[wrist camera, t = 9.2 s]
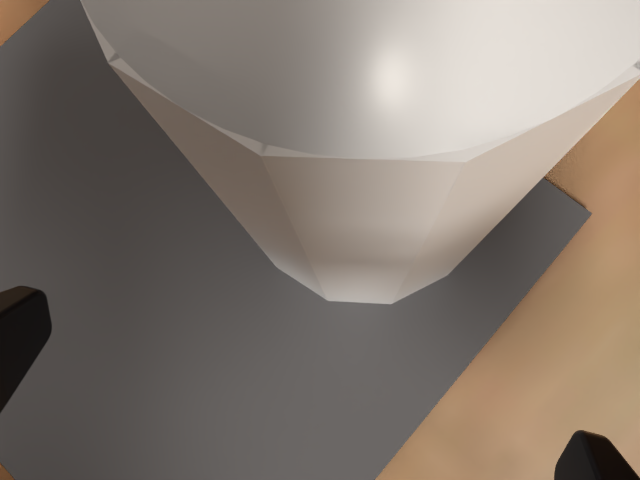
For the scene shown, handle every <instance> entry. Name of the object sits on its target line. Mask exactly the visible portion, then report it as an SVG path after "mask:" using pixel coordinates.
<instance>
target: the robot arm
mask: <svg viewBox="0 0 640 480" xmlns="http://www.w3.org/2000/svg"><path fill="white" fill-rule="evenodd" d="M51 332H52V322H51V316H50V311H49V305H48V300H47V296H46V294H45V293H44V291H42V290H39V289H35V288H31V287H28V286H17V287H13V288H11V289H8V290H5V291H2V292H0V413H1V412H2V410H3V409H4V407H5V406H6V405H7V403H8V402H9V400H10V399H11V397H12V396H13V394H14V392H15V391H16V389H17V388H18V386H19V385H20V383H21V382H22V380H23V378H24V377H25V375H26V374H27V372H28V371H29V369H30V368H31V366H32V365H33V363H34V361H35V360H36V358H37V357H38V355H39V354H40V352H41V351H42V349H43V348H44V346H45V344H46V343H47V341H48V340H49V338H50V335H51ZM554 480H640V478H639V476H638V475H637V474H636V473H635V471H634V470H633V469H632V468H631V466H630V465H629V464H628V463H627V461H626V460H625V459H624V458H623V456H622V455H621V454H620V453H619V451H618V450H617V449H616V448H615V446H614V445H613V444H612V443H611V441H610V440H609V439H607V438H606V437H605V436H602V435H599V434H595V433H591V432H587V431H583V430H578V431H576V432H575V433H574V434H573V436H572V437H571V439H570V441H569V442H568V444H567V446H566V448H565V449H564V451H563V453H562V454H561V456H560V458H559V460H558V462H557V464H556V468H555V474H554Z"/></svg>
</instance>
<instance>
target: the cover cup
mask: <svg viewBox="0 0 640 480" xmlns="http://www.w3.org/2000/svg"><path fill="white" fill-rule="evenodd" d="M80 1H81V3H82V6H83V8H84V10H85V12H86V15H87V17H88V19H89V21H90V23H91V26H92V28H93V30H94V32H95V35H96V37H97V39H98V41H99V44H100V46H101V48H102V50H103V53H104V55H105V57H106V59H107V61H108V64H109V65H110V66H111V67H112V69H113V70H114V71H115V72H116V73H117V75H118V76H119V77H120V78H121V79H122V81H123V82H124V83H125V84H126V86H127V87H128V88H129V89H130V90H131V92H132V93H133V94H134V95H135V96H136V98H137V99H138V100H139V101H140V102H141V104H142V105H143V106H144V107H145V109H146V110H147V111H148V112H149V113H150V115H151V116H152V117H153V118H154V119H155V121H156V122H157V123H158V124H159V125H160V127H161V128H162V129H163V130H164V132H165V133H166V134H167V135H168V136H169V138H170V139H171V140H172V141H173V142H174V144H175V145H176V146H177V147H178V149H179V150H180V151H181V152H182V153H183V155H184V156H185V157H186V158H187V159H188V161H189V162H190V163H191V164H192V165H193V167H194V168H195V169H196V170H197V172H198V173H199V174H200V175H201V176H202V178H203V179H204V180H205V181H206V182H207V184H208V185H209V186H210V187H211V189H212V190H213V191H214V192H215V193H216V195H217V196H218V197H219V198H220V199H221V201H222V202H223V203H224V204H225V205H226V207H227V208H228V209H229V210H230V212H231V213H232V214H233V215H234V216H235V218H236V219H237V220H238V221H239V222H240V224H241V225H242V226H243V227H244V228H245V230H246V231H247V232H248V233H249V235H250V236H251V237H252V238H253V239H254V241H255V242H256V243H257V244H258V245H259V247H260V248H261V249H262V250H263V252H264V253H265V254H266V255H267V256H268V258H269V259H270V260H271V261H272V262H273V264H274V265H275V266H276V267H277V268H278V269H280V270H281V271H283V272H284V273H286V274H287V275H289V276H291V277H292V278H294V279H295V280H297V281H298V282H300V283H301V284H303V285H304V286H306V287H307V288H309V289H310V290H312V291H314V292H315V293H317V294H318V295H320V296H321V297H323V298H324V299H326V300H327V301H339V302H357V303H376V304H393V303H395V302H396V301H398V300H400V299H402V298H404V297H406V296H408V295H410V294H412V293H414V292H416V291H418V290H420V289H422V288H424V287H426V286H428V285H430V284H432V283H434V282H436V281H438V280H440V279H441V278H443V277H445V276H447V275H448V274H449V273H450V272H451V271H452V270H453V269H454V268H455V267H456V266H457V265H458V264H459V263H460V262H461V261H462V260H463V259H464V258H465V257H466V256H467V255H468V254H469V253H470V252H471V251H472V250H473V249H474V248H475V247H476V246H477V245H478V243H479V242H480V241H481V240H482V239H483V238H484V237H485V236H486V235H487V234H488V233H489V232H490V231H491V230H492V229H493V228H494V227H495V226H496V225H497V224H498V223H499V222H500V221H501V220H502V219H503V218H504V217H505V216H506V215H507V214H508V213H509V212H510V211H511V210H512V209H513V208H514V207H515V206H516V205H517V204H518V203H519V202H520V200H521V199H522V198H523V197H524V196H525V195H526V194H527V193H528V192H529V191H530V190H531V189H532V188H533V187H534V186H535V185H536V184H537V183H538V182H539V181H540V180H541V179H542V178H543V177H544V176H545V175H546V174H547V173H548V172H549V171H550V170H551V169H552V168H553V167H554V166H555V165H556V164H557V163H558V162H559V161H560V160H561V159H562V157H563V156H564V155H565V154H566V153H567V152H568V151H569V150H570V149H571V148H572V147H573V146H574V145H575V144H576V143H577V142H578V141H579V140H580V139H581V138H582V137H583V136H584V135H585V134H586V133H587V132H588V131H589V130H590V129H591V128H592V127H593V126H594V125H595V124H596V123H597V122H598V121H599V120H600V119H601V118H602V117H603V116H604V114H605V113H606V112H607V111H608V110H609V109H610V108H611V107H612V106H613V105H614V104H615V103H616V102H617V101H618V100H619V99H620V98H621V97H622V96H623V95H624V94H625V93H626V92H627V91H628V90H629V89H630V88H631V87H632V86H633V85H634V84H635V83H636V82H637V81H638V80H639V79H640V0H80Z"/></svg>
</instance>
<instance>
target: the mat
mask: <svg viewBox="0 0 640 480" xmlns="http://www.w3.org/2000/svg"><path fill="white" fill-rule="evenodd" d="M591 214H592V213H591V212H589V211H588V210H587V209H585V208H584V207H582V206H581V205H580V204H578V203H577V202H576V201H574V200H573V199H572V198H570V197H569V196H567V195H566V194H565V193H563V192H562V191H561V190H559V189H558V188H557V187H555V186H554V185H553V184H551V183H550V182H548V181H547V180H546V179H544V178H542V179H541V180H540V181H539V182H538V183H537V184H536V185H535V186H534V187H533V188H532V189H531V190H530V191H529V192H528V193H527V194H526V195H525V196H524V197H523V198H522V199H521V200H520V202H519V203H518V204H517V205H516V206H515V207H514V208H513V209H512V210H511V211H510V212H509V213H508V214H507V215H506V216H505V217H504V218H503V219H502V220H501V221H500V222H499V223H498V224H497V225H496V226H495V227H494V228H493V229H492V230H491V231H490V232H489V233H488V234H487V235H486V236H485V237H484V238H483V239H482V240H481V241H480V242H479V243H478V245H477V246H476V247H475V248H474V249H473V250H472V251H471V252H470V253H469V254H468V255H467V256H466V257H465V258H464V259H463V260H462V261H461V262H460V263H459V264H458V265H457V266H456V267H455V268H454V269H453V270H452V271H451V272H450V273H449V274H448V275H447V276H445V277H443V278H441V279H440V280H438V281H436V282H434V283H432V284H430V285H428V286H426V287H424V288H422V289H420V290H418V291H416V292H414V293H412V294H410V295H408V296H406V297H404V298H402V299H400V300H398V301H396V302H395V303H393V304H376V303H357V302H339V301H327V300H326V299H324V298H323V297H321V296H320V295H318V294H317V293H315V292H314V291H312V290H310V289H309V288H307V287H306V286H304V285H303V284H301V283H300V282H298V281H297V280H295V279H294V278H292V277H291V276H289V275H287V274H286V273H284V272H283V271H281V270H280V269H278V268H277V267H276V266H275V265H274V264H273V262H272V261H271V260H270V259H269V258H268V256H267V255H266V254H265V253H264V252H263V250H262V249H261V248H260V247H259V245H258V244H257V243H256V242H255V241H254V239H253V238H252V237H251V236H250V235H249V233H248V232H247V231H246V230H245V228H244V227H243V226H242V225H241V224H240V222H239V221H238V220H237V219H236V218H235V216H234V215H233V214H232V213H231V212H230V210H229V209H228V208H227V207H226V205H225V204H224V203H223V202H222V201H221V199H220V198H219V197H218V196H217V195H216V193H215V192H214V191H213V190H212V189H211V187H210V186H209V185H208V184H207V182H206V181H205V180H204V179H203V178H202V176H201V175H200V174H199V173H198V172H197V170H196V169H195V168H194V167H193V165H192V164H191V163H190V162H189V161H188V159H187V158H186V157H185V156H184V155H183V153H182V152H181V151H180V150H179V149H178V147H177V146H176V145H175V144H174V142H173V141H172V140H171V139H170V138H169V136H168V135H167V134H166V133H165V132H164V130H163V129H162V128H161V127H160V125H159V124H158V123H157V122H156V121H155V119H154V118H153V117H152V116H151V115H150V113H149V112H148V111H147V110H146V109H145V107H144V106H143V105H142V104H141V102H140V101H139V100H138V99H137V98H136V96H135V95H134V94H133V93H132V92H131V90H130V89H129V88H128V87H127V86H126V84H125V83H124V82H123V81H122V79H121V78H120V77H119V76H118V75H117V73H116V72H115V71H114V70H113V69H112V67H111V66H110V65H109V64H108V61H107V59H106V57H105V55H104V53H103V50H102V48H101V46H100V44H99V41H98V39H97V37H96V35H95V32H94V30H93V28H92V26H91V23H90V21H89V19H88V17H87V15H86V12H85V10H84V8H83V6H82V3H81V1H80V0H50V1H49V2H48V3H46V4H45V5H44V6H43V7H42V8H41V9H40V10H39V11H38V12H37V13H36V14H35V15H34V16H33V17H32V18H30V19H29V20H28V21H27V22H26V23H25V24H24V25H23V26H22V27H21V28H20V29H19V30H18V31H17V32H16V33H14V34H13V35H12V36H11V37H10V38H9V39H8V40H7V41H6V42H5V43H4V44H3V45H2V46H1V47H0V292H2V291H5V290H8V289H11V288H13V287H17V286H28V287H31V288H35V289H39V290H42V291H44V293H45V294H46V296H47V300H48V305H49V311H50V316H51V322H52V332H51V335H50V338H49V340H48V341H47V343H46V344H45V346H44V348H43V349H42V351H41V352H40V354H39V355H38V357H37V358H36V360H35V361H34V363H33V365H32V366H31V368H30V369H29V371H28V372H27V374H26V375H25V377H24V378H23V380H22V382H21V383H20V385H19V386H18V388H17V389H16V391H15V392H14V394H13V396H12V397H11V399H10V400H9V402H8V403H7V405H6V406H5V407H4V409H3V410H2V412H1V413H0V463H1V464H2V465H3V466H4V467H5V469H6V470H7V471H8V472H9V473H10V474H11V476H12V477H13V478H14V479H15V480H375V479H376V478H377V476H378V475H379V474H380V473H381V471H382V470H383V469H384V468H385V467H386V465H387V464H388V463H389V462H390V460H391V459H392V458H393V457H394V456H395V454H396V453H397V452H398V451H399V449H400V448H401V447H402V446H403V445H404V443H405V442H406V441H407V440H408V438H409V437H410V436H411V435H412V434H413V432H414V431H415V430H416V429H417V427H418V426H419V425H420V424H421V422H422V421H423V420H424V419H425V418H426V416H427V415H428V414H429V413H430V411H431V410H432V409H433V408H434V407H435V405H436V404H437V403H438V402H439V400H440V399H441V398H442V397H443V396H444V394H445V393H446V392H447V391H448V389H449V388H450V387H451V386H452V385H453V383H454V382H455V381H456V380H457V378H458V377H459V376H460V375H461V374H462V372H463V371H464V370H465V369H466V367H467V366H468V365H469V364H470V363H471V361H472V360H473V359H474V358H475V356H476V355H477V354H478V353H479V351H480V350H481V349H482V348H483V347H484V345H485V344H486V343H487V342H488V340H489V339H490V338H491V337H492V336H493V334H494V333H495V332H496V331H497V329H498V328H499V327H500V326H501V325H502V323H503V322H504V321H505V320H506V318H507V317H508V316H509V315H510V314H511V312H512V311H513V310H514V309H515V307H516V306H517V305H518V304H519V303H520V301H521V300H522V299H523V298H524V296H525V295H526V294H527V293H528V291H529V290H530V289H531V288H532V287H533V285H534V284H535V283H536V282H537V280H538V279H539V278H540V277H541V276H542V274H543V273H544V272H545V271H546V269H547V268H548V267H549V266H550V265H551V263H552V262H553V261H554V260H555V258H556V257H557V256H558V255H559V254H560V252H561V251H562V250H563V249H564V247H565V246H566V245H567V244H568V243H569V241H570V240H571V239H572V238H573V236H574V235H575V234H576V233H577V231H578V230H579V229H580V228H581V227H582V225H583V224H584V223H585V222H586V220H587V219H588V218H589V217H590V216H591Z"/></svg>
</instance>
